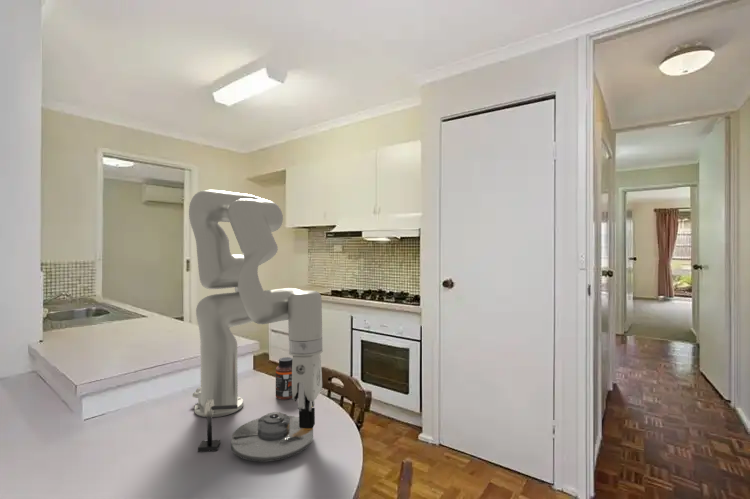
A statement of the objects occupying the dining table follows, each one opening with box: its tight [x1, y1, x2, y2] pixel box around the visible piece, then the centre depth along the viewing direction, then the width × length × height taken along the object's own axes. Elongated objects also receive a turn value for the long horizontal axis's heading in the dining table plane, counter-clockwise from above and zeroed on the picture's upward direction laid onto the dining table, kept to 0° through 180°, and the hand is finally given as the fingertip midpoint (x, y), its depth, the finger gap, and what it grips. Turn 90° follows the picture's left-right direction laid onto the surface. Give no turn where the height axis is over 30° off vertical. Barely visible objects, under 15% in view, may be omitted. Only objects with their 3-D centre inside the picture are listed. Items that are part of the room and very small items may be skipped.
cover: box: [258, 411, 290, 441], centre depth 89 cm, size 7×7×4 cm
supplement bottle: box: [275, 356, 293, 401], centre depth 116 cm, size 6×6×11 cm
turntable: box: [230, 415, 314, 462], centre depth 89 cm, size 18×18×4 cm
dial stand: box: [197, 399, 238, 453], centre depth 87 cm, size 8×4×11 cm, turn 97°
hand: (307, 426), depth 88 cm, fingers closed
